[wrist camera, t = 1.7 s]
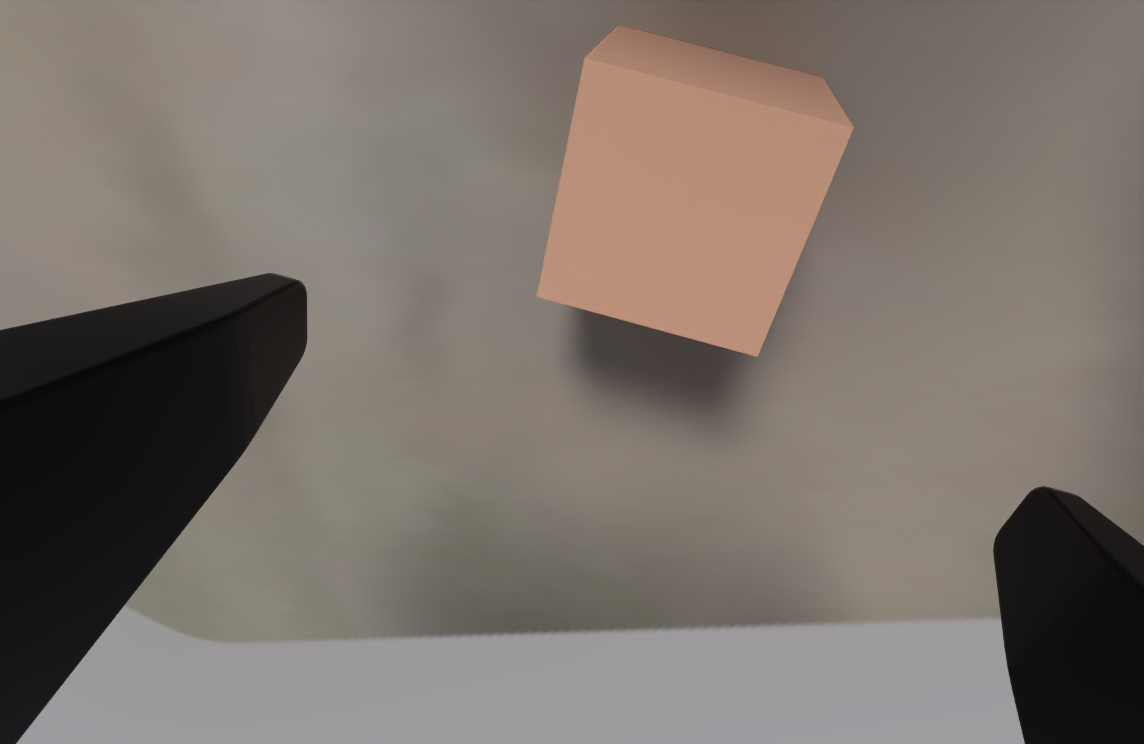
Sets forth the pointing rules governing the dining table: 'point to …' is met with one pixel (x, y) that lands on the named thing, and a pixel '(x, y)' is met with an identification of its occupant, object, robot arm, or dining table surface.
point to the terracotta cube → (689, 187)
